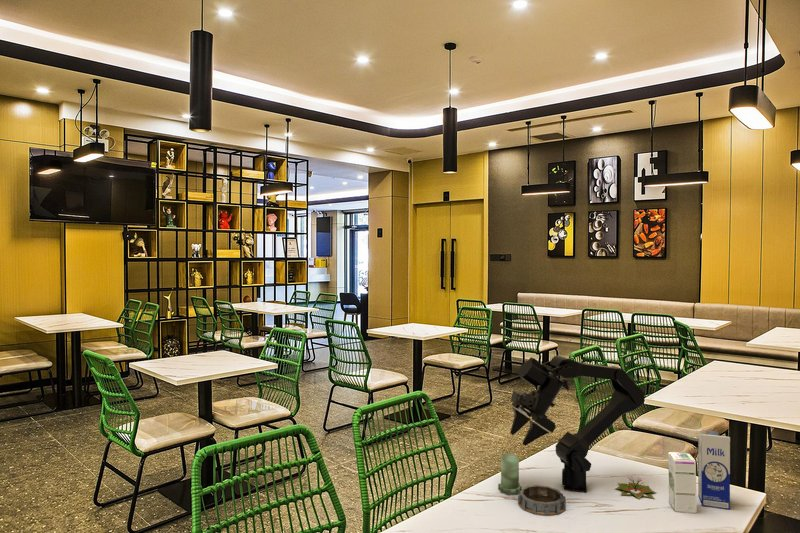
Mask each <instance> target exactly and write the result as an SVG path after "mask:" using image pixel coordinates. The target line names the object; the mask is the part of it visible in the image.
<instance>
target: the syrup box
mask: <svg viewBox="0 0 800 533" xmlns="http://www.w3.org/2000/svg"><path fill="white" fill-rule="evenodd" d="M667 461H668V466H667V467H668V502H669V504H670V506H671V508H672V510H674V512H677V513H686V514H687V513H688V514H697V511H698V509H697V497H698V496H697V466H696V464H697V463H696V460H695V458H694V457H693V456H692V455H691V454H690V453H688V452H681V451H671V452H670V451H669V452H668V459H667Z"/></svg>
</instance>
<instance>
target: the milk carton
mask: <svg viewBox="0 0 800 533" xmlns="http://www.w3.org/2000/svg"><path fill="white" fill-rule="evenodd" d="M697 437H698V438H697V439H698V440H697V441H698V444H697V446H698V452H697V454H698V455H697V456H698V458H697V462H698V463H697V464H698V466H697V467H698V469H697V471H698V474H697V478H698V483H697V484H698V486H697V487H698V490H697V491H698V494H697V497H698V499H699V501H700V503H701V506H702V507H707V508H715V509H723V510H731V437H730V436H724V435H719V431H714V430H706V434H704V433H697Z"/></svg>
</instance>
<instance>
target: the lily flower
mask: <svg viewBox="0 0 800 533" xmlns="http://www.w3.org/2000/svg"><path fill="white" fill-rule="evenodd" d="M630 477H631V478H630ZM630 477H628V476H627V479H628V480H629V481H628V483H623V482H621V483H620V482H617V484H618V485H619V486H617V487H616V488H614V490H622V491H621V496H634V497H635V498H637V499H638V500H640V499H641V497H645V498H648V499H649V498H650V499H653V500H655V497H654V496H653V494H657V492H655V491H654V490H653V489H652V488H650V486H649V485H643V484H644V482H643V480H642V478H641V477H640V478H639V476H638V477H637V480H636V478H633V476H632V475H630ZM635 481H636V482H635ZM640 482H642V483H641V484H640ZM637 491H638V492H637ZM629 492H630V493H629ZM651 493H653V494H651ZM644 494H645V495H644Z"/></svg>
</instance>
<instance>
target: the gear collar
mask: <svg viewBox="0 0 800 533" xmlns="http://www.w3.org/2000/svg"><path fill="white" fill-rule="evenodd" d="M566 501H567V500H566V496H564V493H562V492H561V491H560V490H559V489H557V488H554V487H551V486H547V485H538V484H536V485H526V486H525V487H522V489H521V491H519V494H518V495H517V504H518V507H520V508H521V509H522V510H524V511H525V512H527V513H531V514H534V515H536V516H545V517H547V516H557V515H560V514H563V513H564V512H565V510H566V508H567V507H566V506H567V502H566Z"/></svg>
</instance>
